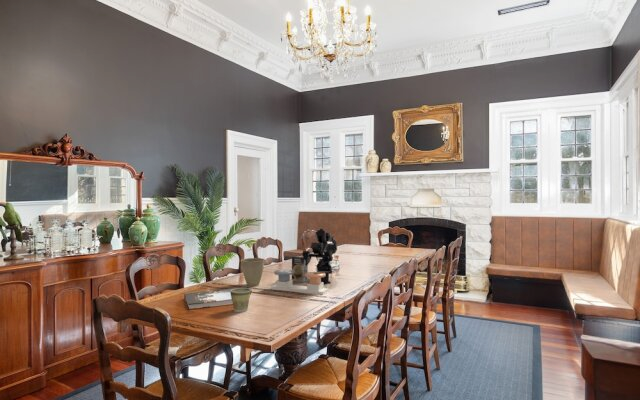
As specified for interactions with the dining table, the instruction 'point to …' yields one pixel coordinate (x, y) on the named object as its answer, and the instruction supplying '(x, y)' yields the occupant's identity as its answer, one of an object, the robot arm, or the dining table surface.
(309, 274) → the brown round domed piece
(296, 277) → the coffee box
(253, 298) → the dining table surface
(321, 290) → the key console
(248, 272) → the plant pot
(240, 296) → the ceramic cup
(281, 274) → the two dot key
